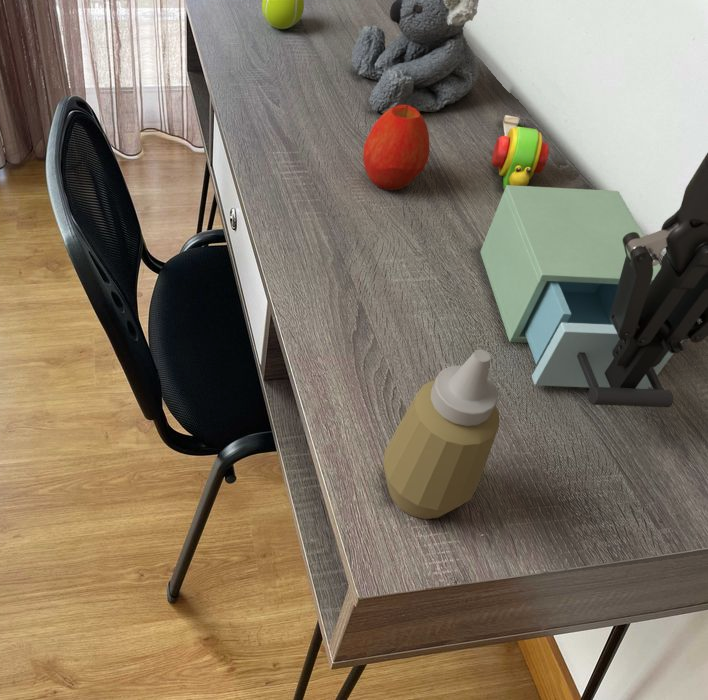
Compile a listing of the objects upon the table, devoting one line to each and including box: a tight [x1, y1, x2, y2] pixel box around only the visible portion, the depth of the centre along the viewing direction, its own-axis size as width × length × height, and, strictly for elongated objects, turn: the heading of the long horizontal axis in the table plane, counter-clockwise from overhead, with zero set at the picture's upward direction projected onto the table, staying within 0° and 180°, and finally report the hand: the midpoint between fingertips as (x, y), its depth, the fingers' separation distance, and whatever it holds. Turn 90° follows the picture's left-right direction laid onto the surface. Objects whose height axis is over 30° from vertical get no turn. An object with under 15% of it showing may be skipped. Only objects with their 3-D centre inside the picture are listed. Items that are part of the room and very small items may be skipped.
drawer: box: [523, 281, 684, 409], centre depth 73 cm, size 19×11×8 cm, turn 0°
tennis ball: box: [261, 0, 305, 30], centre depth 122 cm, size 7×7×7 cm
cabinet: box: [479, 185, 661, 344], centre depth 79 cm, size 15×13×10 cm
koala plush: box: [351, 0, 480, 115], centre depth 106 cm, size 17×18×20 cm
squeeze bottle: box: [382, 348, 500, 520], centre depth 58 cm, size 8×8×18 cm
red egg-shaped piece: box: [362, 105, 430, 191], centre depth 92 cm, size 8×8×11 cm
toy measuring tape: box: [491, 114, 550, 191], centre depth 99 cm, size 6×19×7 cm, turn 167°
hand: (616, 384), depth 68 cm, fingers closed
